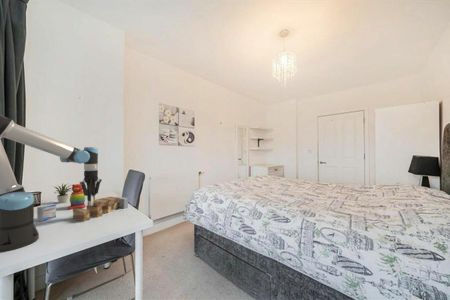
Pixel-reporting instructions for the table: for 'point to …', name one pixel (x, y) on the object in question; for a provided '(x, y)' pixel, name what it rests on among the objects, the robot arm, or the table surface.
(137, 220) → the table surface
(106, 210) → the skid
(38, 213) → the medicine box
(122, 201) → the block
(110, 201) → the slab
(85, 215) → the bed
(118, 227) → the table surface
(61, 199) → the house plant
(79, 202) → the stacking bear
